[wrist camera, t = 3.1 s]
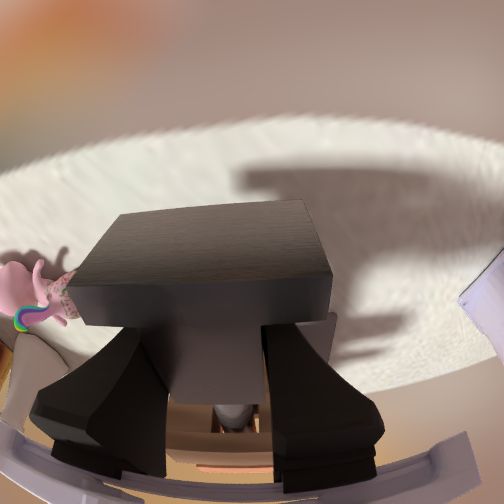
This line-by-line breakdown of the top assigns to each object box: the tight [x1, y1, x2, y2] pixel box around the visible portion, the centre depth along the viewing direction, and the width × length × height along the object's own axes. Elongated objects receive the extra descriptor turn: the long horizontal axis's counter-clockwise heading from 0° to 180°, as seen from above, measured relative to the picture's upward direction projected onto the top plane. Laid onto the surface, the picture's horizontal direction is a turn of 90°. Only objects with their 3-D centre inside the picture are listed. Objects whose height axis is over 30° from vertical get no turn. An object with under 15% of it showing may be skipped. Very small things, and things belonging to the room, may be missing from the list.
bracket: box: [166, 352, 273, 465], centre depth 17 cm, size 3×8×9 cm, turn 94°
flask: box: [0, 333, 69, 434], centre depth 19 cm, size 7×7×10 cm
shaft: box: [66, 200, 333, 433], centre depth 13 cm, size 18×7×4 cm, turn 4°
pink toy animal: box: [0, 259, 81, 332], centre depth 16 cm, size 6×6×15 cm
